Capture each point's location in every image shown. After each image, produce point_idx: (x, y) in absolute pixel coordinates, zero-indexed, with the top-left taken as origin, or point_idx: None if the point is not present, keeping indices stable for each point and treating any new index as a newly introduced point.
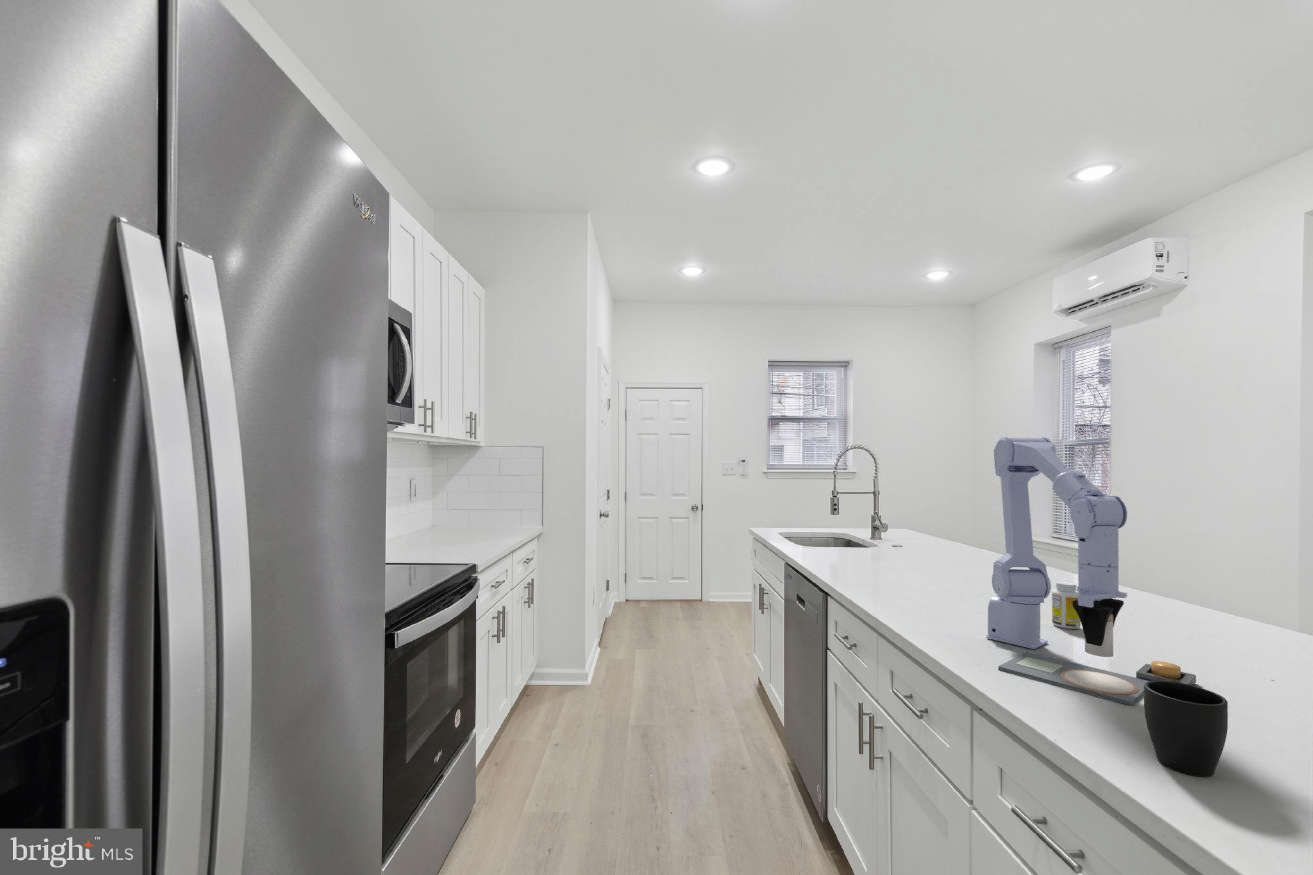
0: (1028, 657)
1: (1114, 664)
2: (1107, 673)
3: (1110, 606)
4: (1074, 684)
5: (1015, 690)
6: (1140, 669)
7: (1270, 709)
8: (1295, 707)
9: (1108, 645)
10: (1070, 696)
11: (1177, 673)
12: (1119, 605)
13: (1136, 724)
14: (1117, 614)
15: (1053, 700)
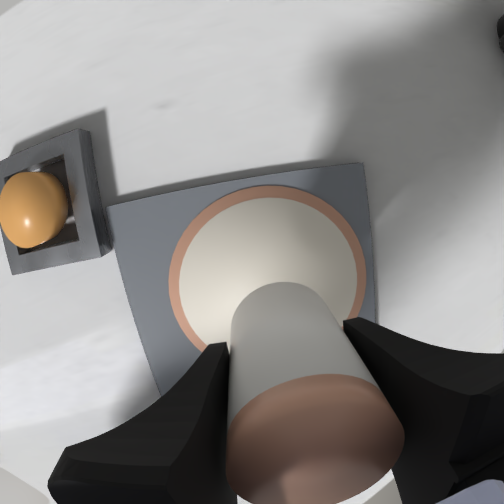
0: None
1: (46, 335)
2: (158, 310)
3: (202, 491)
4: (361, 306)
5: (464, 345)
6: (67, 261)
7: (56, 12)
8: (10, 15)
9: (316, 305)
10: (420, 277)
11: (38, 172)
12: (177, 469)
13: (457, 120)
14: (135, 418)
15: (466, 280)
